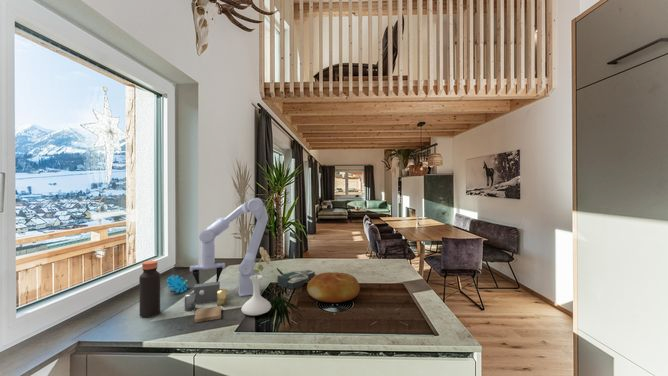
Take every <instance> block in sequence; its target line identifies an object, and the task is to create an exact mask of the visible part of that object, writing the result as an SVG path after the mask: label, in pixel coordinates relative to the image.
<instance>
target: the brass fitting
mask: <svg viewBox="0 0 668 376" xmlns="http://www.w3.org/2000/svg"><path fill="white" fill-rule="evenodd" d="M225 305H226V306H227V305H228V289H227V288H220V289H219V290H217V301H216V307H218V306H222V307H225Z"/></svg>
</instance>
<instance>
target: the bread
mask: <svg viewBox="0 0 668 376" xmlns="http://www.w3.org/2000/svg"><path fill="white" fill-rule="evenodd" d="M360 290H361V288H360V283H359V281H358V279H356V277H355V276H353V275H351V274H349V273H346V272H345V273H344V272H336V271H335V272H333V271H332V272H328V271H327V272H322V273H321V272H320V273H318V274H315V276H314V277H313V278H311V279H309V280H308V282H307V286H306V291H307V293H308V295H309V296H310V297H311V298H313V299H314V300H317V301H319V302H321V303H322V302H324V303H332V304H333V303H336V304H337V303H343V302H347V301H350V300H352V299H355V298H356V297H357V296H358V295H359V293H360Z"/></svg>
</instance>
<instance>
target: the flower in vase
mask: <svg viewBox="0 0 668 376" xmlns="http://www.w3.org/2000/svg"><path fill="white" fill-rule="evenodd" d="M259 253H260V256H261V258H260V260H259V262H258V266H257V269H254V272H253V273H257V274H258V272H259V273H260V272H262V271H264V266H263V265H262V264H261V262H262V260H263V262H264V263H265V264H266V265H271V262H272V260H271V259H270V257H271V256H270V255H269V254H268V252H267V250H266V249H265V248H264V247H263V246H259ZM263 278H264V276H263V274H262V275H261V274H260V275H253V276H251V277H250V279H251V280H252V282H253V288H254V293H253V295H251V297H250V298H249V299H248V300H247V301H245V303H244V304H243V305H241V306H242V307H241V308H240V310H241V313H242V314H244V315H247V316H261V315H263V314H265V313H268V312H269V311H270V310H271V308H272V304H271V302H270V301H269V300H267V299H266V298H264V297H263V296H262V295H261V293H260V292H261V291H260V292H259V287H260V285H261V281H262V280H263Z"/></svg>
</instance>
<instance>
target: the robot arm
mask: <svg viewBox="0 0 668 376" xmlns="http://www.w3.org/2000/svg"><path fill="white" fill-rule="evenodd" d="M249 212H250V213H251V214H252V215H254V217H255V219H256V222H255V227H254V230H253V232H252V235H251V238H250V242H249V245H248V247H247V250H246V253H245V256H244V258H243V260H242V261H241V263H239V265H238V271H239V272H238V273H239V274H238V275H239V276H238V280H239V281H238V282H239V283H238V284H239V285H238V287H239V289H238V290H237V294H238V297H245V296H246V297H247V296H253V293H254V288H253V282H252V280H251V279H250V277H251V276H253V275H261V272H260V271H259V272H258V274H257V273H253V272H254V270H255V269H254V268H255V267H256V264H257V263H256V259H257V254H258V250H259V249H260V245H261V241H262V239H263V236H264V233H265V229H266V226H267V224H268V220H269V215H268V211H267V208H266V204H265V203H264V201H263V200H262V199H261V198H260V197H255V198H250V200H248V201H246V202H244V203H242V204H241V205H240V206H237V208H235V210H233V211H232V212H231V213H229V214H228V215H227V216H225V217H219V218H216V219H215V221H214V222H212V223H211V225H207V226H206V229H202V231H200V233H199V236H198V239H199V240H200V264H197V265H196V264H195V265H190V266H189V272H191V273H192V276H193V277H194V279H195V283H196V284H201V283H200V271H205V270H207V271H208V270H215V269H216V279H215V280H216V281H215V282H219V279H220V277H221V274H222V272H223V269H225V268H226V263H225V262H215V261H216V260H215V257H216V256H215V255H216V254H215V252H216V251H215V250H216V249H215V246H216V245H215V239H216V237H218V236H219V235H221V234H222V233H223V232H225V231H226V230H227V229H228V228H230V223H232V222H233V221H234V220H235V219H237V218H238V217H240V216H241V215H243V214H245V213H246V214H247V213H249ZM261 285H262V284H260V287H259V292H260V294H261Z"/></svg>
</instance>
